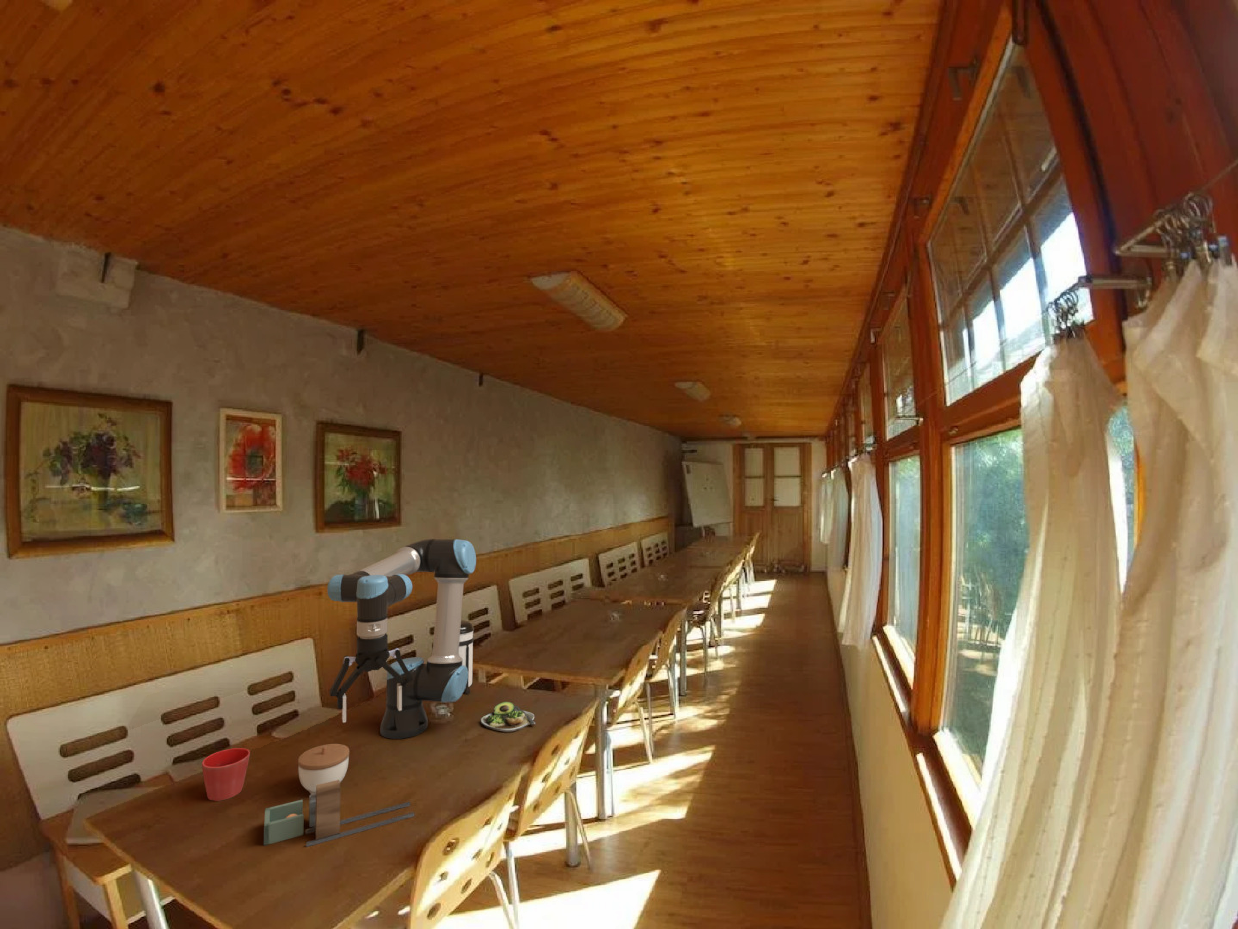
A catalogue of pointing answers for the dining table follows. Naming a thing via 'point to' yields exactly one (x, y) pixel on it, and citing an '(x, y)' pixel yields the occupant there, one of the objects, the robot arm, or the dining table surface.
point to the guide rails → (362, 826)
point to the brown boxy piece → (325, 809)
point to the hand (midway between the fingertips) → (372, 714)
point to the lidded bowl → (323, 765)
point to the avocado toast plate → (507, 718)
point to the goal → (283, 822)
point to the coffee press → (466, 650)
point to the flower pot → (225, 773)
